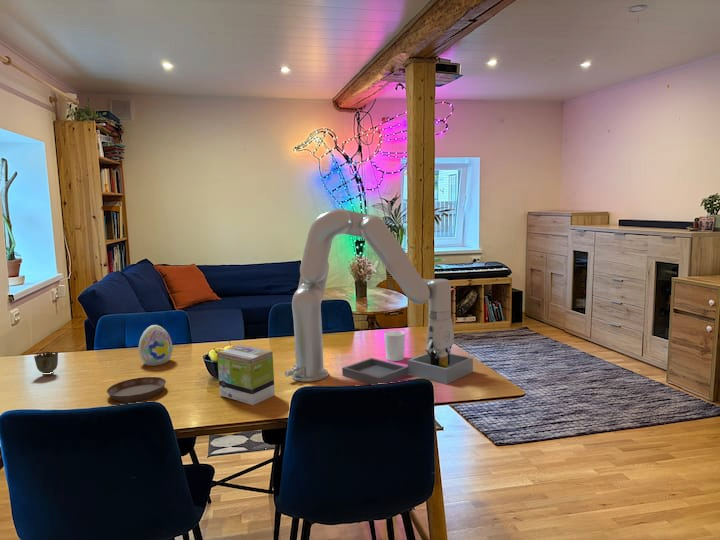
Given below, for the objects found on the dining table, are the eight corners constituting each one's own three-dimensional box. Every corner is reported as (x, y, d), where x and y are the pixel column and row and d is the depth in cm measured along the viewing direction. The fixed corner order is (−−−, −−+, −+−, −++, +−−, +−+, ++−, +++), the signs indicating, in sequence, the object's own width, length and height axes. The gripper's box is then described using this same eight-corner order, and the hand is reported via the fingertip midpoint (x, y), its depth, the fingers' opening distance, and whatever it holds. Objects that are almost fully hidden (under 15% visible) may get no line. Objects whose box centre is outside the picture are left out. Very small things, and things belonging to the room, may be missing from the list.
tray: (378, 386, 164) (378, 378, 164) (342, 375, 176) (342, 367, 176) (408, 374, 175) (407, 366, 175) (371, 365, 187) (371, 357, 187)
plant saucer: (99, 395, 165) (98, 386, 165) (153, 381, 177) (152, 372, 177) (119, 409, 153) (118, 400, 152) (175, 393, 165) (175, 384, 164)
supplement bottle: (448, 370, 178) (448, 344, 177) (447, 375, 173) (447, 348, 172) (432, 370, 179) (432, 343, 178) (431, 375, 174) (431, 348, 173)
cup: (64, 372, 189) (62, 351, 188) (47, 379, 182) (45, 357, 181) (48, 371, 191) (46, 350, 190) (31, 378, 184) (29, 356, 183)
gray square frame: (446, 384, 165) (446, 369, 164) (407, 374, 176) (407, 360, 175) (472, 371, 176) (472, 357, 175) (435, 362, 187) (434, 349, 187)
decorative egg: (144, 369, 189) (140, 330, 187) (136, 362, 199) (133, 325, 197) (177, 363, 196) (174, 325, 195) (168, 356, 206) (165, 320, 204)
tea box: (218, 397, 160) (215, 351, 158) (242, 387, 168) (239, 343, 166) (252, 406, 151) (250, 358, 150) (276, 395, 160) (273, 349, 158)
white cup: (404, 362, 189) (403, 336, 188) (383, 361, 191) (382, 335, 190) (406, 355, 197) (406, 330, 196) (386, 355, 199) (385, 330, 197)
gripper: (433, 321, 165) (434, 375, 167) (463, 312, 177) (463, 362, 179) (415, 318, 170) (416, 370, 172) (445, 309, 182) (445, 358, 184)
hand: (440, 365), depth 176 cm, fingers closed on supplement bottle, 5 cm apart
